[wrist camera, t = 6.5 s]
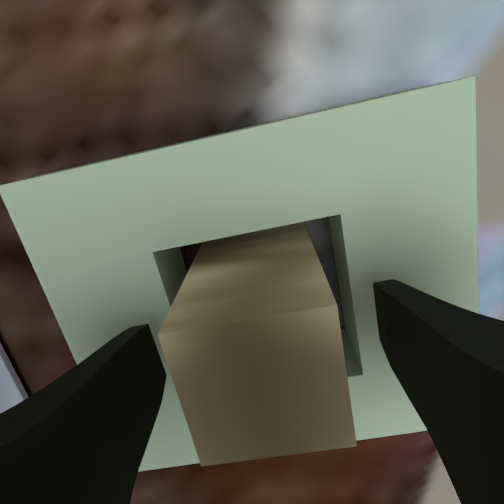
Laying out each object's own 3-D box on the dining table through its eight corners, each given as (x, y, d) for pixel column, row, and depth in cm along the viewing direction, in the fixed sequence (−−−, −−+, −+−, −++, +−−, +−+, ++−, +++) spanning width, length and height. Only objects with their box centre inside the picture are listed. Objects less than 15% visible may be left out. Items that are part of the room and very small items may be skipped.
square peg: (226, 324, 16) (201, 466, 10) (204, 238, 15) (157, 334, 8) (317, 309, 16) (357, 446, 9) (303, 220, 14) (336, 305, 8)
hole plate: (147, 417, 18) (125, 473, 15) (50, 172, 14) (-3, 186, 11) (443, 371, 17) (480, 422, 14) (427, 85, 13) (475, 76, 10)
